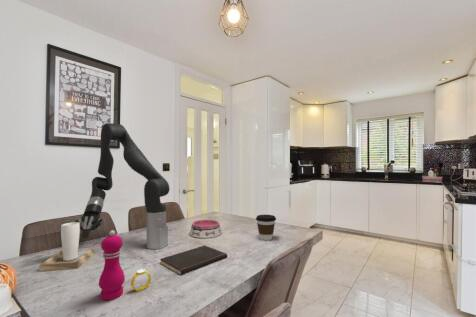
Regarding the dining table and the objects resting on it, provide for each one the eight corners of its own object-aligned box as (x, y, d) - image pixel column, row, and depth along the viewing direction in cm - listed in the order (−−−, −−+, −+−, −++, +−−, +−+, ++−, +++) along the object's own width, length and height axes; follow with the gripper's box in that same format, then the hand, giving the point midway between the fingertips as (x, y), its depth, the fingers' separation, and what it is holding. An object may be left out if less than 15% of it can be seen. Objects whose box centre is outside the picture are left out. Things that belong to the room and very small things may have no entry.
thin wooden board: (62, 255, 110) (62, 250, 110) (94, 253, 112) (94, 247, 113) (39, 271, 94) (39, 265, 94) (78, 268, 96) (78, 262, 96)
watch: (133, 294, 77) (132, 275, 77) (130, 291, 79) (129, 272, 79) (152, 286, 81) (151, 269, 81) (149, 283, 83) (148, 266, 83)
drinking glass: (68, 262, 101) (68, 225, 102) (57, 261, 103) (57, 225, 104) (83, 256, 108) (83, 222, 108) (72, 255, 110) (72, 221, 111)
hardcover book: (159, 264, 100) (159, 258, 100) (204, 250, 117) (204, 245, 117) (181, 277, 89) (181, 270, 89) (227, 259, 105) (227, 253, 106)
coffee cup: (253, 240, 128) (253, 217, 129) (259, 235, 138) (259, 213, 139) (273, 243, 124) (273, 219, 124) (278, 237, 134) (278, 215, 135)
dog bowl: (228, 232, 145) (227, 220, 145) (208, 241, 129) (207, 228, 129) (204, 228, 155) (203, 217, 155) (182, 235, 139) (182, 223, 139)
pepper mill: (105, 289, 80) (105, 227, 80) (128, 288, 80) (128, 227, 81) (94, 302, 72) (94, 234, 73) (119, 300, 73) (119, 233, 73)
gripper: (78, 203, 125) (66, 234, 113) (106, 202, 128) (97, 232, 116) (82, 212, 131) (71, 242, 118) (109, 210, 133) (101, 240, 121)
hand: (84, 237), depth 117 cm, fingers closed
